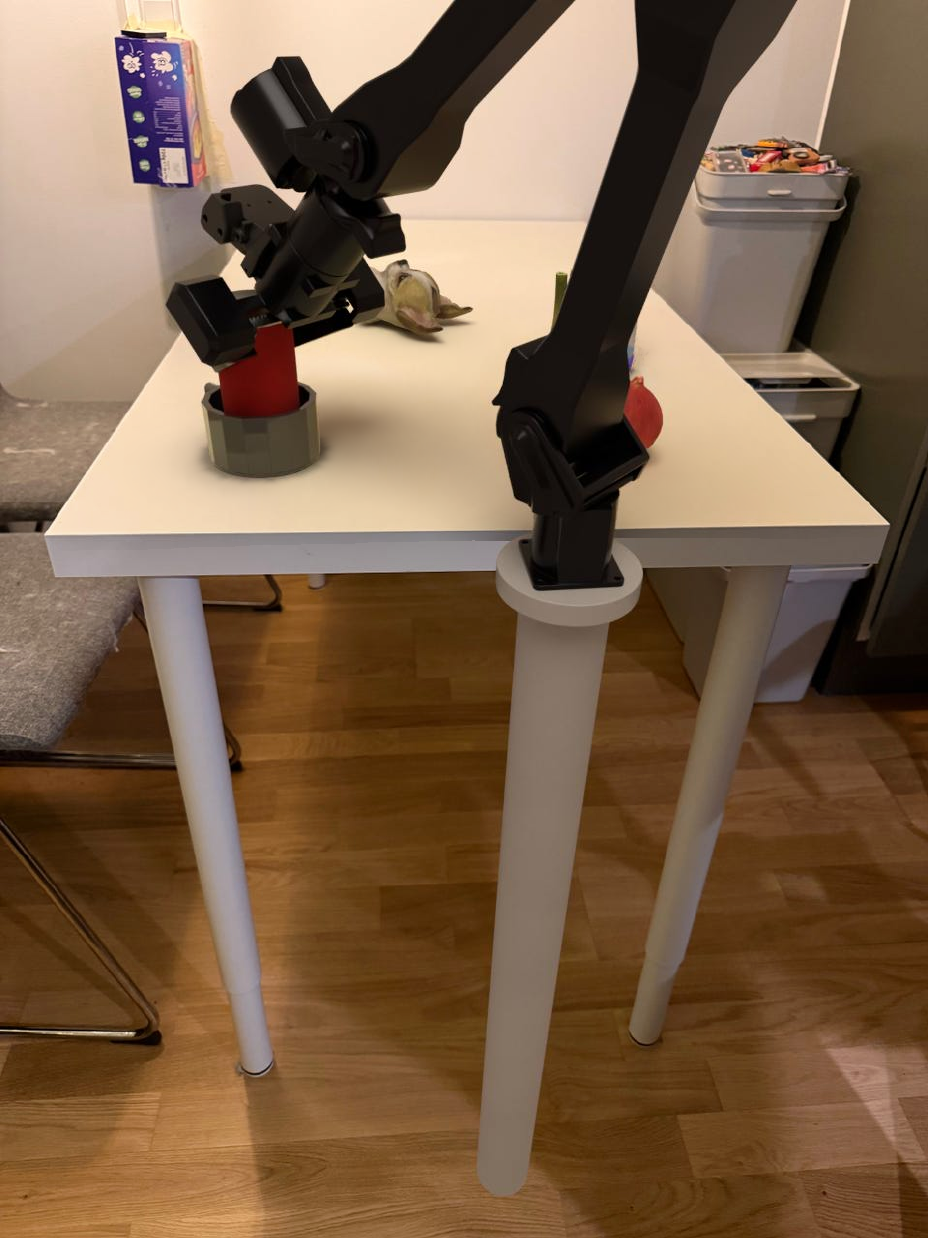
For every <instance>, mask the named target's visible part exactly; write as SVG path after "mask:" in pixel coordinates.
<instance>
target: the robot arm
mask: <svg viewBox="0 0 928 1238" xmlns="http://www.w3.org/2000/svg"><path fill="white" fill-rule="evenodd" d="M575 2H576V0H453V1H451V3H450V4H449V6H448V7H447V8H446V10H445V11H444V12H443V13H442V14H441V15H440V16H439V18H438V20H437V21H436V22H435V24H433V26H432V27H431V29H430V30H429V31H428V32H427V33H426V35H425V36H424V37H423V38H422V39H421V40H420V42H419V43H418V45H417V46H416V48H415V49H414V50H413V51H412V52H411V53H410V55H408V56H407V57H406V58H405V59H404V60H403V61H401V62H400V63H399V64H398V65H396V66H394V67H393V68H390V69H388V70H387V71H384V72H383V73H381V74H379V75H378V76H377V75H376V76H375V77H374V78H371V79H369V80H368V81H366V82H364V83H363V84H362V85H361V86H359V87H358V88H357V89H355V90H354V91H353V92H352V93H351V94H350V95H348V96H347V97H346V98H345V99H344V100H343V101H341V102H340V103H339V104H338V105H337V106H336V107H335V108H334V109H333V110H331V109H330V107H329V105H328V104H327V102H326V100H325V99H324V97H323V95H322V94H321V92H320V91H319V89H318V87H317V86H316V85H315V82H314V80H313V78H312V75H311V73H310V71H309V68H308V67H307V65H306V64H305V62H304V60H303V59H302V57H301V56H300V55H286V56H285V55H283V56H276V57H275V59H274V61H273V63H272V65H271V67H270V68H267V69H266V70H264V71H261V72H260V73H258V74H257V75H255V76H254V77H252V78H250V79H249V81H248V82H246V83H245V84H244V85H243V86H242V88H241V89H240V88H239V89H238V90H236V91H235V93H234V95H233V96H232V99H231V102H230V109H229V110H230V116H231V119H232V120H233V121H234V124H235V125H236V126H237V128H238V130H239V131H240V133H241V134H242V136H243V138H244V139H245V141H246V143H247V144H248V146H249V147H250V150H251V151H252V153H253V154H254V155H255V157H256V159H257V160H258V162H259V164H260V165H261V166H262V168H263V170H264V171H265V173H266V175H267V176H268V178H269V180H270V181H271V183H272V185H273V186H274V187H275V189H277V190H278V189H279V190H293V191H294V192H295V193H298V194H304V195H303V196H302V198H301V199H300V201H299V202H298V204H297V206H296V208H295V209H294V208H293V207H292V206H290V205H289V204H288V203H287V202H286V201H285V200H284V199H282V198H281V197H280V196H279V195H278V194H277V193H276V192H274V190H272V189H271V188H270V187H268V186H266V185H263V184H259V183H253V184H247V185H246V184H245V185H240V186H239V185H238V186H233V187H226V188H222V189H221V190H220V191H219V192H213V193H210V195H209V196H208V198H207V199H206V200H205V202H204V204H203V205H202V209H201V215H200V224H201V228H202V229H203V231H204V232H205V233H207V234H208V235H209V236H210V237H211V238H212V239H213V240H214V241H215V242H216V244H218V245H220V246H223V245H227V244H231V246H233V247H234V249H236V250H237V251H238V252H239V253H240V254H242V255H244V257H243V259H242V261H241V263H240V264H239V266H240V267H241V269H242V270H243V272H244V274H245V276H246V277H247V278H248V279H252V278H253V279H254V281H255V283H254V286H253V289H254V290H255V291H256V293H257V295H253V296H249V297H245V298H241V299H236V298H235V296H234V295H233V293H232V291H233V290H231V288H230V287H229V285H228V284H227V282H226V280H225V278H224V277H223V276H221V275H216V274H213V273H212V274H207V275H203V276H202V275H201V276H198V277H194V278H193V277H192V278H189V279H184V280H179V281H175V282H174V283H173V285H172V287H171V290H170V292H169V293H168V295H167V298H166V301H165V308H167V310H168V311H169V313H170V315H171V317H172V318H173V319H174V321H175V323H176V324H177V326H178V327H179V329H180V331H181V332H182V334H183V335H184V337H185V338H186V340H187V341H188V343H189V344H190V346H191V348H192V349H193V351H194V352H195V354H196V355H197V357H198V359H199V360H200V362H201V363H202V364H204V365H206V366H208V367H211V368H212V370H213V372H214V373H216V374H218V372H220V371H223V370H225V369H228V368H230V367H232V366H234V365H237V364H239V363H241V362H243V361H246V360H248V359H250V358H253V357H255V356H257V355H258V353H257V352H256V350H255V349H254V345H255V344H256V341H255V337H256V336H257V330H258V329H262V328H265V327H269V326H272V325H276V324H280V323H282V324H283V325H284V327H285V328H286V330H287V329H291V328H293V337H294V347H295V349H296V348H299V347H301V346H304V345H307V344H309V343H311V342H315V341H318V340H320V339H323V338H326V337H329V336H331V335H333V334H336V333H339V332H342V331H344V330H347V329H350V328H352V327H354V325H358V324H361V323H365V322H364V321H367V320H371V319H374V318H376V316H377V315H378V314H379V313H380V312H381V310H382V309H383V308H384V307H385V291H384V289H383V288H382V286H381V284H380V283H379V281H378V280H377V278H376V276H375V275H374V273H373V272H372V270H371V268H370V267H371V266H370V265H369V264H368V261H366V259H365V257H364V256H366V257H367V258H368V259H369V260H375V259H380V258H384V257H388V256H391V255H396V254H401V253H404V252H405V251H406V250H407V242H406V234H405V233H404V230H403V228H402V215H401V214H400V213H399V212H392V211H391V208H390V206H389V205H388V204H387V202H386V200H385V198H392V197H398V196H402V195H409V194H415V193H420V192H425V191H428V190H430V189H431V188H433V187H435V185H436V184H437V182H439V180H440V179H441V177H442V176H443V174H444V172H445V171H446V169H447V168H448V167H449V165H450V163H451V162H452V161H453V159H454V157H455V156H456V155H457V153H458V151H459V150H460V148H461V145H462V141H463V136H464V131H465V126H466V123H467V122H468V120H469V119H470V117H471V116H472V114H473V112H475V109H476V108H477V107H478V105H480V103H482V102H483V101H484V99H485V98H486V97H487V96H488V95H489V94H490V93H491V92H492V90H493V89H494V88H495V87H497V85H498V84H500V82H501V81H502V80H503V79H504V78H505V77H506V76H507V75H508V73H509V72H510V71H511V70H512V69H513V68H515V66H516V65H517V64H518V63H519V62H520V61H521V60H522V58H524V56H525V55H526V54H527V53H528V52H529V51H530V50H531V49H532V48H533V47H534V45H535V44H536V43H538V41H539V40H540V39H541V38H542V37H543V36H544V35H545V34H546V33H547V32H548V31H549V30H550V28H551V27H552V26H553V25H555V23H556V22H557V21H558V20H559V19H560V18H561V17H562V16H563V15H564V14H565V12H566V11H567V10H568V9H569V8H570V7H571V6H572V5H573V4H574V3H575ZM797 2H798V0H633V7H634V9H633V11H634V24H635V25H634V26H635V43H636V44H635V45H636V58H637V67H636V68H637V69H636V72H635V73H636V74H635V78H634V83H633V86H632V89H631V92H630V95H629V98H628V100H627V103H626V107H625V110H624V113H623V115H622V119H621V122H620V125H619V127H618V132H617V134H616V136H615V139H614V142H613V146H612V149H611V151H610V155H609V158H608V160H607V164H606V167H605V169H604V173H603V176H602V179H601V182H600V185H599V188H598V190H597V193H596V197H595V200H594V203H593V205H592V209H591V211H590V215H589V218H588V221H587V224H586V227H585V230H584V233H583V235H582V239H581V241H580V245H579V248H578V251H577V254H576V257H575V260H574V263H573V266H572V268H571V270H572V272H571V271H570V273H571V275H570V274H569V278H568V280H567V287H566V290H565V293H564V296H563V299H562V302H561V305H560V308H559V311H558V314H557V317H556V320H555V323H554V325H553V327H552V329H551V328H550V330H549V333H548V334H546V335H542V336H540V337H538V338H535V339H533V340H532V339H531V340H530V341H526V342H524V343H522V344H519V345H516V346H513V347H512V348H511V349H510V351H509V353H508V355H507V358H506V360H505V365H504V373H503V379H502V382H501V386H500V388H499V391H498V393H497V394H496V395H495V396H494V397H493V398H492V400H491V405H492V406H494V407H498V410H497V413H496V417H495V418H496V419H495V434H496V436H497V438H498V439H500V443H501V446H502V451H503V455H504V459H505V463H506V464H505V465H506V468H507V473H508V477H509V481H510V486H511V490H512V494H513V498H514V499H515V500H516V501H518V502H521V503H523V504H526V505H527V506H528V507H529V508H530V510H531V511H530V512H531V513H533V520H532V530H531V532H532V539H521V540H519V543H518V548H519V551H520V554H521V556H522V559H523V562H524V565H525V568H526V571H527V573H528V576H529V579H530V582H531V585H532V588H533V589H534V590H537V591H552V590H572V589H592V588H612V587H622V586H623V585H624V580H625V579H624V577H623V575H622V573H621V571H620V569H619V567H618V565H617V563H616V561H615V559H614V557H613V555H612V553H611V552H612V545H613V540H614V538H615V531H616V523H617V517H618V509H619V503H620V502H619V501H620V496H621V492H620V491H621V488H623V487H624V486H626V485H628V484H629V483H632V482H635V481H637V480H638V479H639V478H641V475H642V474H643V472H644V470H645V468H646V466H647V465H648V463H649V461H650V458H651V457H650V456H651V455H650V453H649V451H648V449H646V448H645V447H644V445H643V443H642V442H641V440H640V438H639V437H638V435H637V433H636V432H635V430H634V429H633V427H632V425H631V424H630V422H629V420H628V419H627V417H626V415H625V414H624V409H625V404H626V400H627V396H628V392H629V387H630V381H631V374H630V370H629V363H628V353H627V349H628V344H629V340H630V337H631V335H632V332H633V330H634V327H635V325H636V322H637V320H638V321H639V318H640V315H641V312H642V310H643V307H644V305H645V302H646V300H647V298H648V295H649V293H650V291H651V287H652V285H653V282H654V280H655V277H656V275H657V273H658V270H659V268H660V265H661V263H662V261H663V258H664V255H665V253H666V250H667V248H668V245H669V243H670V241H671V238H672V236H673V233H674V230H675V228H676V225H677V223H678V221H679V219H680V215H681V213H682V210H683V208H684V206H685V203H686V200H687V198H688V195H689V193H690V191H691V188H692V186H693V183H694V181H695V178H696V176H697V174H698V171H699V169H700V166H701V164H702V161H703V159H704V156H705V153H706V152H707V148H708V146H709V144H710V142H711V139H712V136H713V134H714V131H715V129H716V126H717V124H718V121H719V119H720V117H721V115H722V112H723V108H724V106H725V104H726V102H728V101H727V100H729V97H730V95H731V94H732V92H733V91H734V90H735V89H736V87H738V85H739V84H740V83H741V81H742V80H743V79H744V77H745V76H746V75H747V74H748V73H749V71H750V70H751V69H752V67H754V65H755V64H756V62H758V60H759V59H760V58H761V56H762V55H763V54H764V53H765V52H766V51H767V49H768V48H769V47H770V45H771V44H772V43H773V41H774V40H775V39H776V37H777V36H778V34H779V33H780V31H781V29H782V27H783V26H784V24H785V22H786V20H787V19H788V17H789V16H790V14H791V12H792V10H793V9H794V7H795V6H796V4H797ZM350 306H351V308H352V309H351V311H350V310H349V307H350ZM637 323H638V322H637Z"/></svg>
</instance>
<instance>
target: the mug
mask: <svg viewBox="0 0 928 1238" xmlns="http://www.w3.org/2000/svg"><path fill="white" fill-rule="evenodd" d="M298 389H299V401H300V408H297V409H294V410H292V411H289V412H286V413H281V414H275V415H269V416H238V415H232V414H226V413H224V408H223V401H222V395H221V388H220V384H216V383H214V382H210V381H209V382H206V383H205V384H204V386H203V390H204V394H203V396H202V399H201V401H200V403H201V410H202V416H203V423H204V430H205V435H206V442H207V443H206V444H207V449H208V456H209V457H210V461H211V463H212V464H213V466H215V467H216V468H217V469H218V470H220V471H222V472H224V473H227V474H230V475H234V476H238V477H244V478H273V477H280V476H287V475H290V474H293V473H297V472H299V471H302V470H305V469H307V468H308V467H310V466H312V465H313V464H314V463H315V462H316V461H317V460H318V459H319V458H320V454H321V436H320V422H319V421H320V419H319V408H318V406H319V405H318V395H317V394H318V393H317V392H316V391H315V389H313V388H312V387H311V386H310V385H308V384H306V383H304V382H301V381H298Z"/></svg>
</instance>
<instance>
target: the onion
mask: <svg viewBox="0 0 928 1238" xmlns="http://www.w3.org/2000/svg"><path fill="white" fill-rule="evenodd" d="M624 414H625V415H626V417H627V419H628V420H629V422H630V424H631V425H632V427H633V429H634V430H635V432H636V433H637V435H638V437H639V438H640V440H641V442H642V443H643V445H644V447H645V448H646V450H648V449H649V448H650V447H651V446H653V445H654V444H655V442H656V441H657V440H658V438H659V436H660V434H661V432H662V429H663V426H664V413H663V409H662V406H661V404H660V402H659V401H658V399H657V397H656V396H655V394H654V393H653V392H652V391H651V390H650V389H648V387H646V386H645V378H644V376H642V375H635V376H634V377H633V378H632V379H630V387H629V392H628V396H627V400H626V404H625V409H624Z"/></svg>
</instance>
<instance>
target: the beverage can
mask: <svg viewBox="0 0 928 1238" xmlns="http://www.w3.org/2000/svg"><path fill="white" fill-rule="evenodd" d="M231 291H232V293H233V295H234V296H235V298H236V299H241V298H245V297H249V296H253V295H257V293H256V291H255V290H254V288H253V289H239V290H231ZM255 341H256V344H255V345H254V349H255V350H256V352H257V353H258V355H257V356H255V357H253V358H250V359H248V360H246V361H243V362H241V363H239V364H237V365H234V366H232V367H230V368H228V369H225V370H223V371H220V372H218V373H217V374H218V381H219V385H220V388H221V395H222V401H223V408H224V413H226V414H232V415H238V416H269V415H275V414H281V413H286V412H289V411H292V410H294V409H297V408H300V401H299V389H298V382H299V380H298V378H299V377H298V368H297V367H298V366H297V358H296V357H297V356H296V348H295V347H294V337H293V328H291V329H287V330H286V328H285V327H284V325H283V324H282V323H280V324H276V325H272V326H269V327H265V328H262V329H258V330H257V336H256V337H255Z"/></svg>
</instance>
